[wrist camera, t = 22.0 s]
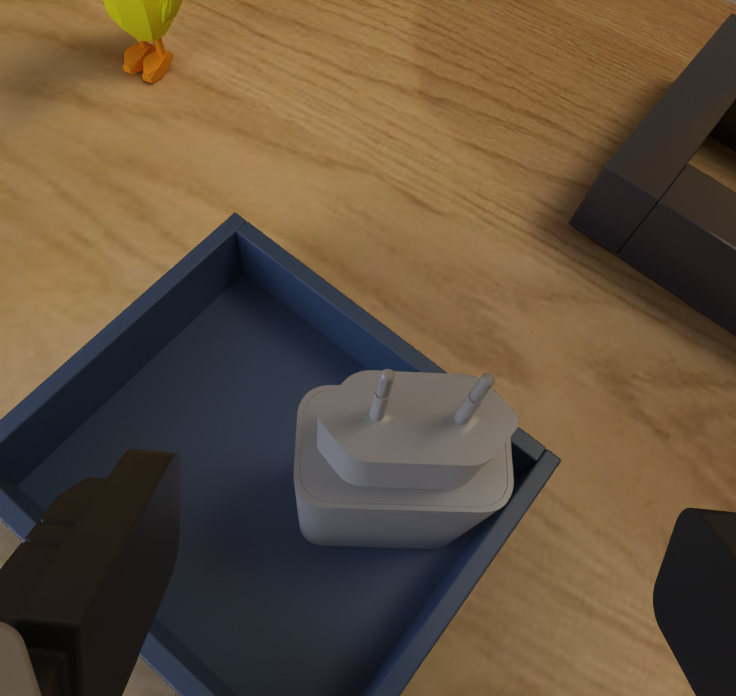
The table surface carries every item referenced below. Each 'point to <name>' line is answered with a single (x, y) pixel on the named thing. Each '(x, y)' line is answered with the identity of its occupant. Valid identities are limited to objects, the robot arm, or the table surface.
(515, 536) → the table surface
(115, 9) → the toy figure
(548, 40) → the table surface
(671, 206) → the block
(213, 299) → the basin
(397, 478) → the power adapter
